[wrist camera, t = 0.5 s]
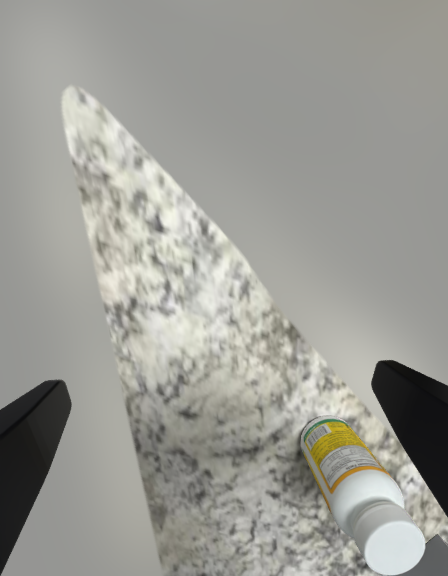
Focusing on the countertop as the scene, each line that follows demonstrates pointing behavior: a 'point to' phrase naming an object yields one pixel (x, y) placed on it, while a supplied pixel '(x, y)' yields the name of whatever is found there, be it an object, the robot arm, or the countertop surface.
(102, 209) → the countertop surface
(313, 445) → the supplement bottle
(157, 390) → the countertop surface
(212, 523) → the countertop surface
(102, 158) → the countertop surface
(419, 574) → the grey square tray
